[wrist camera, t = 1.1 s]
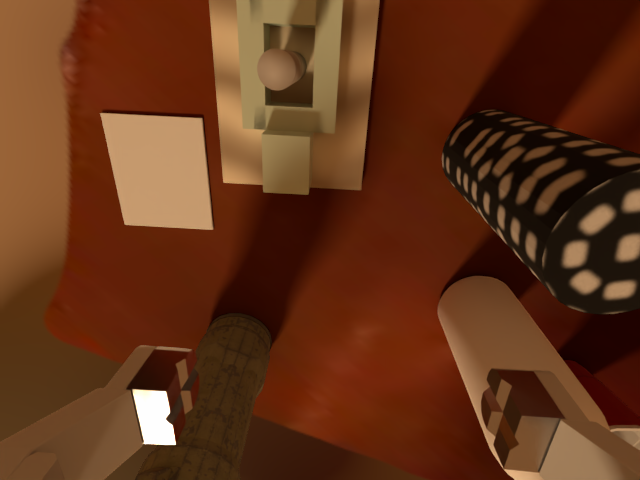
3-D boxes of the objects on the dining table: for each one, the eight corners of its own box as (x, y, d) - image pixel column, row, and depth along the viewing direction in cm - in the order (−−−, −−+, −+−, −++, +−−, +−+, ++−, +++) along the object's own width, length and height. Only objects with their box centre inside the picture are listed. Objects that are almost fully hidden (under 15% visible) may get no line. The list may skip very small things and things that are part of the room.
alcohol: (481, 339, 47) (676, 720, 20) (422, 315, 45) (544, 689, 19) (526, 288, 43) (840, 672, 16) (462, 260, 42) (690, 628, 15)
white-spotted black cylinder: (440, 117, 35) (551, 181, 17) (532, 102, 34) (751, 152, 16) (442, 198, 38) (534, 321, 20) (525, 187, 37) (696, 305, 20)
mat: (102, 112, 36) (100, 113, 36) (202, 118, 36) (201, 118, 35) (126, 223, 41) (124, 224, 41) (213, 228, 41) (212, 229, 41)
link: (244, -4, 30) (228, -15, 25) (342, 0, 30) (343, -9, 25) (252, 174, 36) (240, 191, 32) (331, 179, 36) (331, 196, 32)
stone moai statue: (250, 295, 45) (54, 835, 14) (286, 362, 50) (202, 875, 19) (188, 312, 47) (-113, 831, 15) (229, 376, 51) (63, 868, 20)
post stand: (211, -32, 30) (147, -78, 20) (380, -24, 30) (403, -66, 20) (227, 178, 38) (187, 222, 28) (360, 185, 38) (368, 232, 28)
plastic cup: (511, 356, 48) (561, 442, 37) (600, 336, 46) (681, 421, 35) (521, 409, 52) (568, 501, 41) (602, 393, 50) (675, 485, 39)
